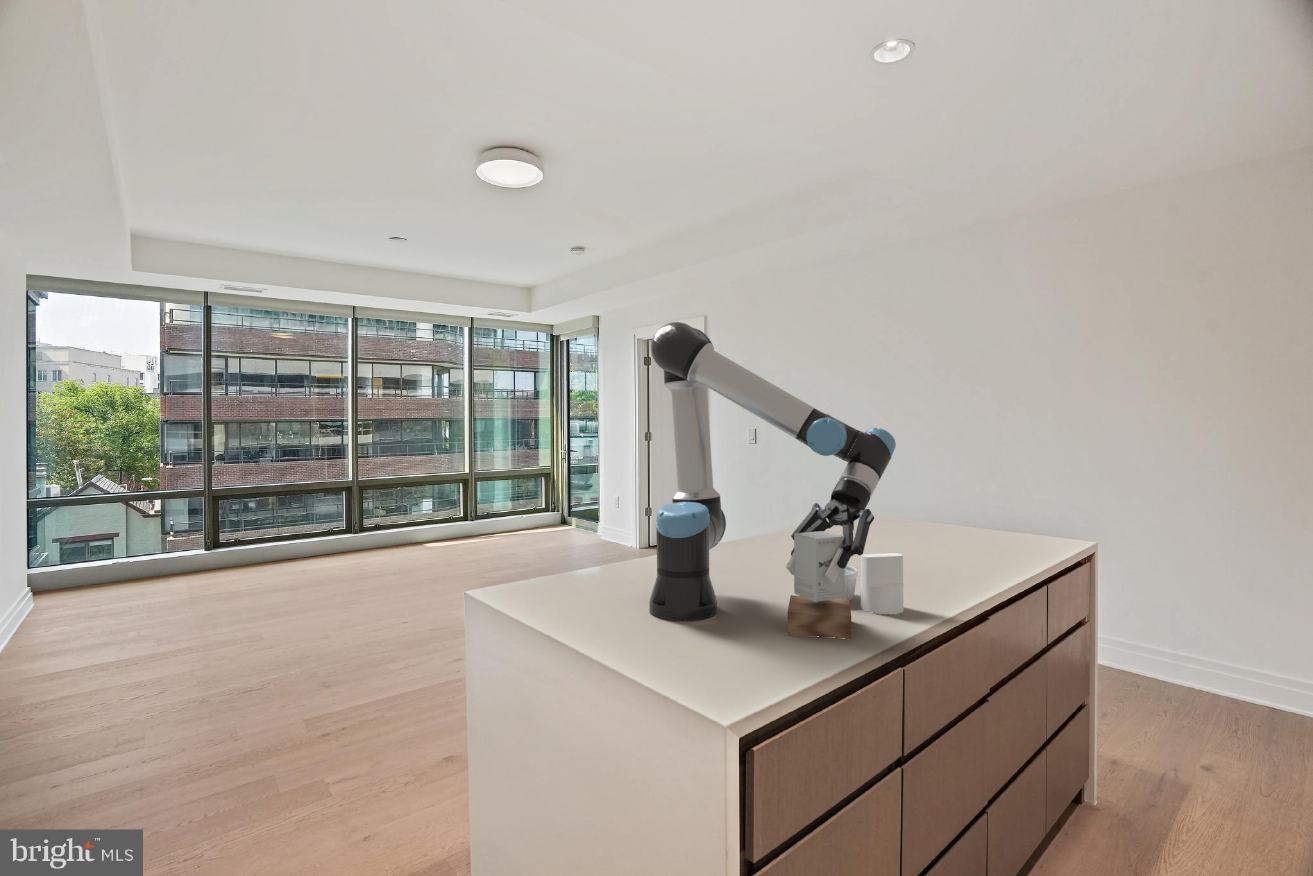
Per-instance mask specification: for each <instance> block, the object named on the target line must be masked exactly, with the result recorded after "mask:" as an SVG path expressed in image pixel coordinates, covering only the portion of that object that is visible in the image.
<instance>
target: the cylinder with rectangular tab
mask: <svg viewBox="0 0 1313 876" xmlns="http://www.w3.org/2000/svg"><path fill="white" fill-rule="evenodd" d="M860 609H861V610H862V609H863V610H862V611H864V610H865V612H866V611H867V612H866V613H870V612H873V613H872V614H874V613H877V614H876V615H881V614H895V615H898V614H897V613H900V612H902V613H903V612H904V555H903V554H901V553H897V552H890V553H889V552H888V553H870V554H869V553H866V554H864V553H863V554H862V555H860ZM878 613H879V614H878ZM900 614H901V613H900Z"/></svg>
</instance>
